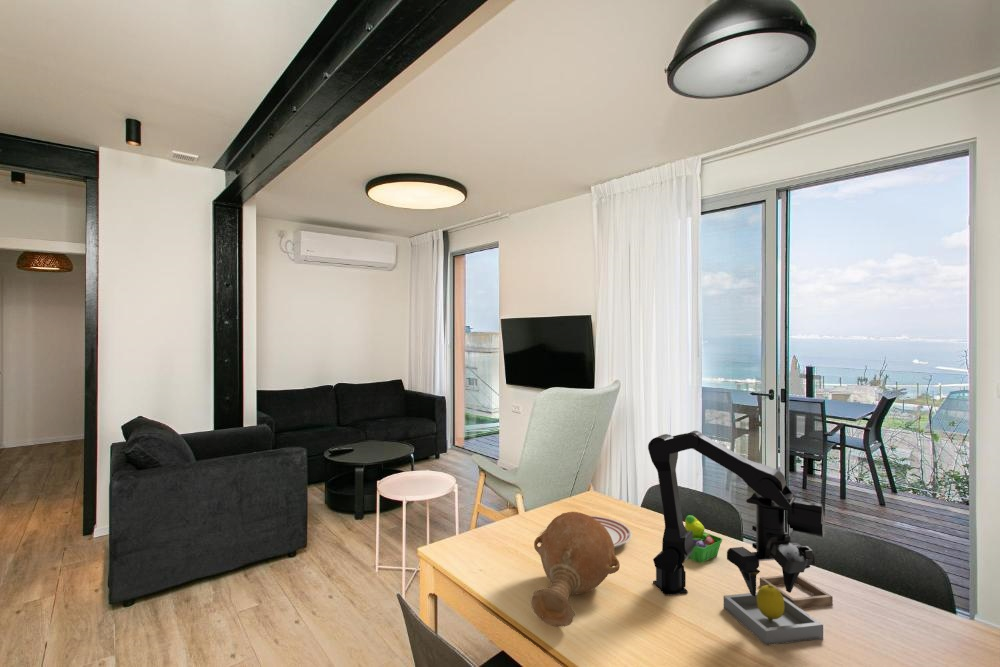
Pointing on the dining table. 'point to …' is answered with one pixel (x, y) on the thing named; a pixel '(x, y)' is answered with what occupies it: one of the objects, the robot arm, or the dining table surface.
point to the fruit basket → (702, 541)
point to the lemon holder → (817, 600)
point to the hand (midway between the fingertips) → (770, 593)
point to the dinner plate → (615, 530)
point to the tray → (773, 621)
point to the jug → (571, 564)
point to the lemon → (770, 602)
